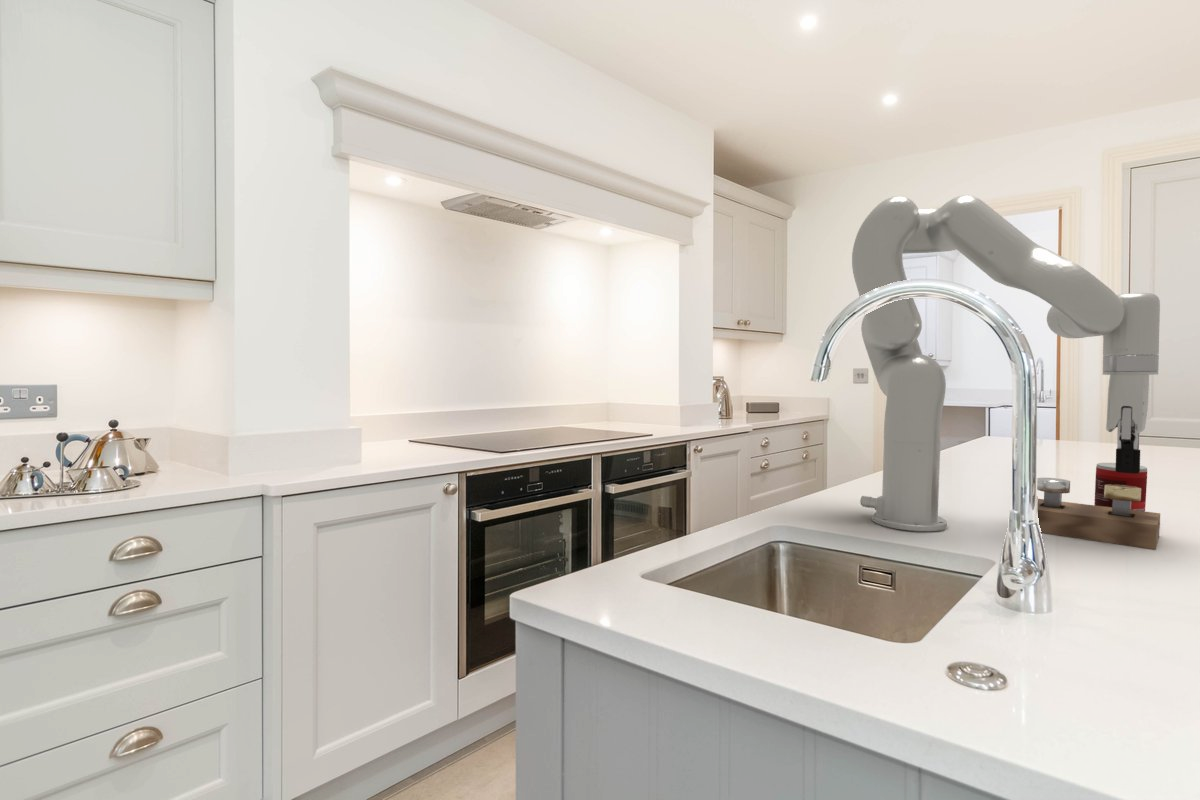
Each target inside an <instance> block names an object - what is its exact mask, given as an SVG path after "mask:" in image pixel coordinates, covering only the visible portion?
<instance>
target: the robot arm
mask: <svg viewBox="0 0 1200 800" xmlns="http://www.w3.org/2000/svg"><path fill="white" fill-rule="evenodd" d="M854 239H855V240H854V242H853V243H854V244H853V246H852V252H851V254H852V255H851V269H852V274H853V278H854V281H855V282H854V283H855V285H856V288H857V292H858V296H859V297H860V296H861V295H863V294H865V293H867V292H869V291H871V290H873V289H875V288H878V287H881V286H884V285H887V284H890V283H893V282H897V281H903V280H907V281H908V279H907V276H906V272H905V271H906V270H905V267H904V263H903V255H904V254H906V255H907V254H929V253H931V254H932V253H941V252H943V253H944V252H951V251H956V250H957V251H958V252H959V253H960V254H962V255H963V256H964V257H965V258H967V259H968V260H969V261H970V262H972V264H974V265H975V266H976V267H977V268H979V269H980V270H981V271H982V272H984V273H985V274H986V275H987V276H988V277H989V278H990V279H992V280H993V281H994V282H996V283H998V284H1000V285H1004V286H1005V287H1009V288H1013V289H1018V290H1021V291H1025V292H1027V293H1029V294H1032V295H1034V296H1036V297H1038V298H1040V299H1041V300H1043V301H1045V302H1046V303H1047V304H1049V305H1050V308H1049V310H1048V311H1047V316H1046V322H1047V326H1048V328H1049V330H1051V332H1053V333H1054V334H1055V335H1057V336H1058V337H1059V336H1060V337H1062V338H1065V339H1085V338H1091V337H1092V338H1093V337H1100V336H1102V340H1103V341H1102V375H1104V376H1109V379H1108V388H1107V407H1106V408H1107V409H1106V427H1105V430H1106V431H1107V432H1109V433H1112V432H1113V431H1115V430H1116V429H1117V435H1116V436H1117V442H1116V445H1117V448H1116V449H1115V463H1116V472H1120V473H1133V474H1138V473H1139V472H1140V466H1141V449H1139V448H1140V433H1142V432H1144V430H1145V429H1146V424H1147V418H1148V417H1147V416H1148V409H1149V408H1148V406H1149V391H1150V389H1149V388H1150V375H1151V376H1152V375H1155V376H1156V375H1159V364H1160V363H1159V359H1160V355H1159V354H1160V321H1161V320H1160V319H1161V318H1160V317H1161V300H1160V297H1159V296H1158V295H1157V294H1155V293H1149V292H1133V293H1121V294H1116V293H1115V292H1114V290H1112V289H1111V288H1110V287H1108V286H1107V284H1105V283H1104V282H1103V281H1101V280H1100V279H1098V277H1096V276H1095V275H1094V274H1092V273H1091V272H1089V270H1087V269H1085V268H1083V266H1081V265H1079V264H1077V263H1075V262H1074V261H1071V260H1070V259H1068V258H1066V257H1064V256H1062V255H1060V254H1058V253H1056V252H1054V251H1052V250H1050V249H1047V248H1045V247H1044V246H1041V245H1040V244H1037V243H1036V242H1035V241H1033V239H1030V237H1028V236H1027V235H1026V234H1024V233H1023V232H1022V231H1020V230H1019V229H1018V228H1017V227H1015V225H1014V224H1011V222H1010V221H1008V220H1007V219H1005V217H1003V216H1002V215H1000V214H999V213H998V212H997V211H995V210H994V209H993V208H992V207H991V206H990V205H988V204H987V203H985V201H983V200H981V198H979V197H976V196H973V195H969V194H968V195H967V194H966V195H965V194H964V195H959V196H956V197H954V198H951V199H950V200H948V201H947V202H946V203H944V204H943V205H941V207H940V206H939V207H936V208H935V207H934V208H925V209H924V208H923V209H919V207H918V206H917V205H916V203H915V202H914V200H912V199H910V198H909V197H907V196H906V197H905V196H904V195H903V196H901V195H897V196H890V197H888V198H886V199H884V200H882V201H881V202H879V203H878V204H877V205H876V206H875V207H874V208H873V209H872V210H871V211H870V212H869V214H867V216H866V218H865V219H864V220H863V222H862V223H861V225H860V227H859V229H858V231H857V233H856V236H855V238H854ZM914 299H915V298H914V297H913V298H909V299H902V300H898V301H894V302H892V303H889V304H886V305H884V306H882V307H880V308H878V309H876V310H874V311H872V312H870V313H868V314H866V315H865V314H864V316H863V318H862V321H861V329H860V331H861V336H862V340H863V343H864V346H865V347H864V348H865V350H866V353H867V356H868V359H869V361H870V365H871V367H872V371H873V373H874V376H875V379H876V381H877V384H878V386H879V389H880V390H881V392H882V393H883V394H884V395H885V396H886V401H885V412H884V424H883V456H882V457H883V459H882V460H883V461H882V462H883V463H882V464H883V465H882V489H881V490H882V491H881V495H880V496H877V497H872V496H869V495H868V496H867V495H861V497H860V500H859V501H860V502H859V504H860V505H861V506H862V508H871V509H873V510H875V511H876V512H874V513H872V521H873V522H874V523H876V524H878V525H880V526H883V527H887V528H891V529H895V530H903V531H912V532H913V531H914V532H937V531H938V532H939V531H943V530H945V529H947V528H948V521H947V520H946V519H944V518H943V517H941V516H938V515H939V492H940V465H941V463H940V462H941V436H942V434H941V432H942V430H941V429H942V419H943V418H942V417H943V408H944V402H945V397H946V388H947V386H946V385H947V382H946V381H947V380H946V376H945V372H944V370H943V367H941V365H940V364H939V362H937V360H935V359H933V358H932V357H931V356H928V355H926V354H923V352H922V349H921V347H920V343H919V341H918V338H919V336H920V334H921V331H922V327H923V324H922V323H923V322H922V318H921V313H920V312H919V310H918V308H917V305H916V302H915V300H914Z"/></svg>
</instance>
